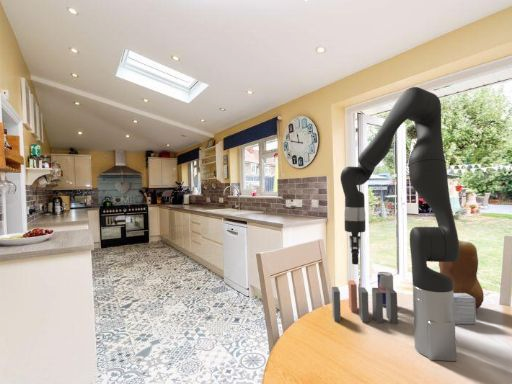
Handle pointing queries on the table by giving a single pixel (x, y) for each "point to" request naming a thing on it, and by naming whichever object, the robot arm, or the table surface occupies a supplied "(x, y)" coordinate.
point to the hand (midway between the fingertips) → (355, 261)
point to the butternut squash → (465, 272)
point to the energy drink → (384, 284)
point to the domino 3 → (363, 305)
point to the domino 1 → (336, 304)
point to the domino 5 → (391, 306)
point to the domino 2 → (352, 295)
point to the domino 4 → (377, 305)
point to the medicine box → (464, 309)
